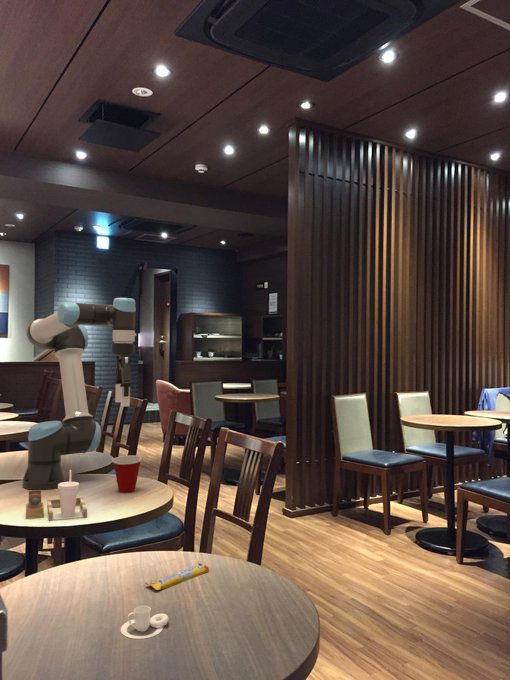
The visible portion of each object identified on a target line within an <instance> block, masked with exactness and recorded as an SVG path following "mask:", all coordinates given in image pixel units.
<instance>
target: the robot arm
mask: <svg viewBox="0 0 510 680" xmlns="http://www.w3.org/2000/svg"><path fill="white" fill-rule="evenodd" d="M136 311H137V308H136V300H135V298H129V297H115V298H113V303H112V304H103V303H102V304H99V303H88V302H87V303H84V302H75V301H67V302H65V301H64V302H61V303H60V304H59V306H58V308H57V311H56V312H54V313H52V314H50V315H49V316H47V317H45V318H37V319H35V320H33V321H32V322H31V323H30V324H29V325H28V326H27V329H26V336H27V340H28V342H30V343H31V345H33V346H34V347H36V348H38V349H41V350H42V349H43V350H53V352H54V357H56V358H57V359H58V360H59V368H60V369H59V370H60V378H61V385H62V387H61V388H62V394H63V395H62V396H63V402H64V411H65V412H64V413H65V417H64V418H63V419H62V422H61V420H51V421H50V420H49V421H43V422H38V423H35V424H33V425H31V426H30V427H29V429H28V436H27V440H28V441H27V442H28V447H27V450H28V451H27V452H28V453H27V467H26V470H25V473H24V475H23V478H22V483H21V484H22V485H21V486H22V488H24V489H25V490H30V491H34V490H41V491H42V490H43V491H45V490H52V489H59V488H58V484H59V483H62V482H66V476H65V475H66V474H65V473H64V470H63V467H62V456H67V455H77V454H85V453H91V452H94V451H96V449H97V448H98V447H99V445H100V442H101V439H102V430H101V425H100V423H99V422H97V421H95V420H94V415H92V414H91V413H90V412H89V407H88V400H87V399H88V398H87V393H86V384H85V378H84V370H83V369H84V368H83V361H82V356H83V354H84V353H85V350H86V349H87V348H88V344H89V342H88V341H89V332H88V330H87V327H86V326H103V327H112V335H111V336H112V342H113V343H112V344H111V345H112V349H111V350H112V352H111V353H112V354H114V355H116V365H115V376H114V381H115V398H114V399H115V400H114V402H115V403H120V406H121V407H130V403H131V386H132V373H131V372H132V371H131V357H130V356H129V355H134V354H135V352H136V351H135V347H136V345H135V344H134V342H135V341H136V339H135V338H136V337H137V333H136V331H135V330H136Z"/></svg>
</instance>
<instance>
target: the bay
mask: <svg viewBox="0 0 510 680" xmlns="http://www.w3.org/2000/svg"><path fill="white" fill-rule="evenodd" d="M75 507H79V508H80V512H81V513H82V516H83V518H84V519H87V518H88V507H87V505H86V503H85V500H84V497H81V496H80V497H77V499H76V505H75ZM54 508H61V505H60V498H58V499H56V498H55V499H47V507H46V509H47V514H48V515H47V516H48V521H49V522H53V521H54V519H53V514H54V512H53V509H54ZM83 518H82V519H83Z"/></svg>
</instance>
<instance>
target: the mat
mask: <svg viewBox="0 0 510 680" xmlns="http://www.w3.org/2000/svg"><path fill="white" fill-rule="evenodd" d="M73 519H74V520H75V519H83V515H82V511H75V512H74V516H71V517H62V515H61V512H59V513H53V521H62V520H65V521H66V520H73Z"/></svg>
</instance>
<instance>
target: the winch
mask: <svg viewBox="0 0 510 680" xmlns="http://www.w3.org/2000/svg"><path fill="white" fill-rule="evenodd" d="M44 508H45V507H44V502H42V490H29V491H28V503H25V519H26V520H27V519H39V518H44V510H45V509H44Z"/></svg>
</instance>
